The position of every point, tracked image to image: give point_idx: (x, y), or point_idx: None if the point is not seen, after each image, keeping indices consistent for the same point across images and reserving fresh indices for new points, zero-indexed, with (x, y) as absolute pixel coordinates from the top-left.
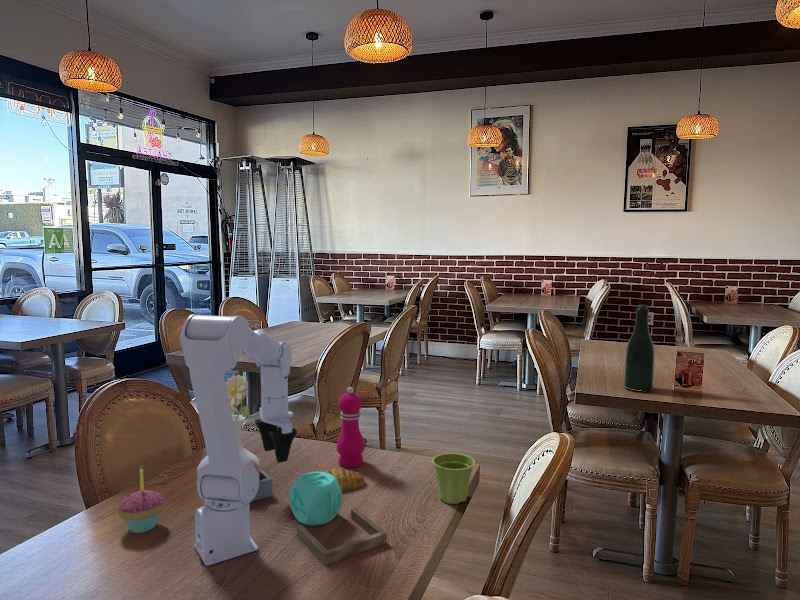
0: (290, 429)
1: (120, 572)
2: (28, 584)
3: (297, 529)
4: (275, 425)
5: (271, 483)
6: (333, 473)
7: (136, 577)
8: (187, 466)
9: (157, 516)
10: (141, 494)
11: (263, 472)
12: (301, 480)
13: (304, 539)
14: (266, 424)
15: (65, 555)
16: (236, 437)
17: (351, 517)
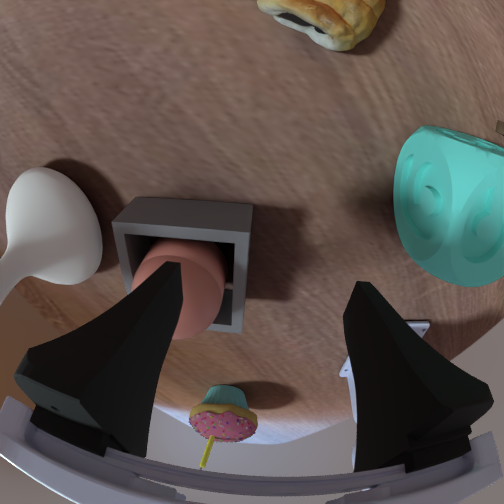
0: (489, 451)
1: (320, 414)
2: (277, 440)
3: None
4: (121, 374)
5: (250, 226)
6: (331, 2)
7: (343, 408)
8: (24, 283)
9: (237, 399)
10: (224, 439)
11: (177, 232)
12: (471, 269)
13: None
14: (133, 425)
15: None
16: (7, 287)
17: (498, 132)
